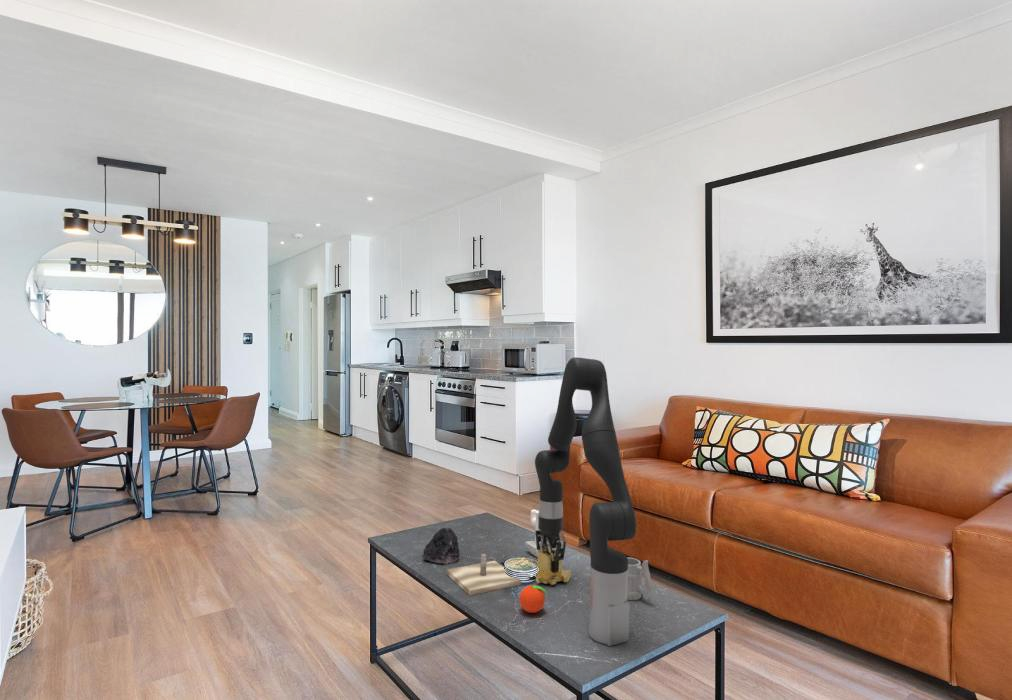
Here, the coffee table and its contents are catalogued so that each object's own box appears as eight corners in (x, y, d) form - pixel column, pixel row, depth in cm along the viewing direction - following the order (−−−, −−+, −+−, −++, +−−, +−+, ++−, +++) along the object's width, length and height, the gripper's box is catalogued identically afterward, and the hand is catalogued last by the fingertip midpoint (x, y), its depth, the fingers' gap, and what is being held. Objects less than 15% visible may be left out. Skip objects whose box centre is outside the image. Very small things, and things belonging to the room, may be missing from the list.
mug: (627, 587, 172) (628, 547, 172) (659, 601, 163) (660, 559, 163) (610, 593, 168) (611, 552, 168) (641, 608, 158) (642, 565, 158)
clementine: (549, 607, 157) (550, 581, 157) (547, 619, 151) (548, 592, 151) (521, 604, 159) (521, 579, 159) (517, 616, 152) (518, 589, 152)
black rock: (434, 570, 183) (439, 540, 183) (413, 554, 193) (417, 525, 193) (468, 564, 192) (472, 535, 191) (445, 549, 202) (449, 521, 202)
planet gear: (576, 579, 175) (576, 555, 175) (543, 586, 169) (544, 561, 169) (554, 566, 185) (555, 543, 185) (523, 572, 179) (523, 548, 179)
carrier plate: (520, 584, 172) (521, 558, 172) (469, 595, 164) (470, 568, 164) (494, 565, 187) (495, 541, 187) (446, 574, 179) (447, 548, 179)
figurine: (537, 560, 192) (538, 515, 192) (522, 551, 200) (524, 508, 200) (555, 556, 195) (556, 513, 195) (540, 548, 204) (541, 506, 204)
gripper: (574, 519, 173) (572, 575, 173) (548, 507, 185) (547, 559, 185) (553, 522, 169) (552, 579, 169) (528, 509, 182) (527, 563, 182)
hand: (549, 568), depth 177 cm, fingers closed on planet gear, 5 cm apart
